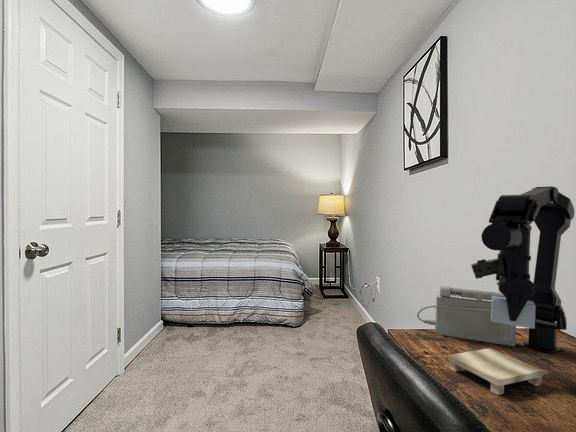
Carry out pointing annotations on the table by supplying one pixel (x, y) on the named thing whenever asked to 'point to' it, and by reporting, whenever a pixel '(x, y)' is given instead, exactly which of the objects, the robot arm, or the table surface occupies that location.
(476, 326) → the geiger counter
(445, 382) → the table surface
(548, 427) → the table surface
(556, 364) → the table surface
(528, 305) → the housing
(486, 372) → the stand
